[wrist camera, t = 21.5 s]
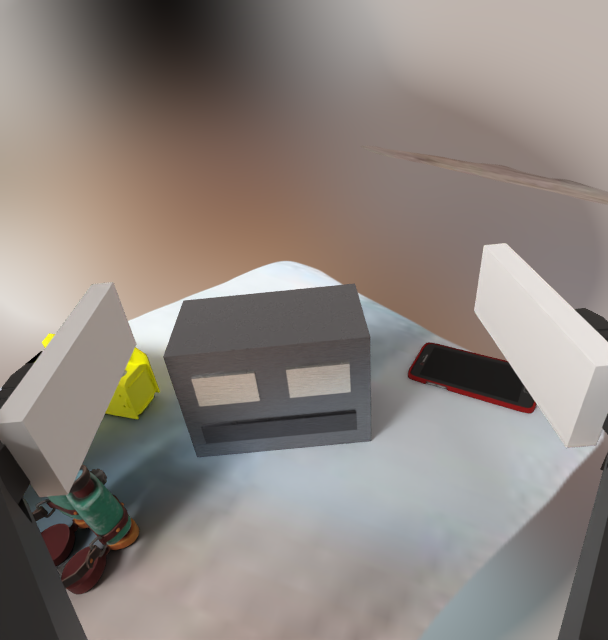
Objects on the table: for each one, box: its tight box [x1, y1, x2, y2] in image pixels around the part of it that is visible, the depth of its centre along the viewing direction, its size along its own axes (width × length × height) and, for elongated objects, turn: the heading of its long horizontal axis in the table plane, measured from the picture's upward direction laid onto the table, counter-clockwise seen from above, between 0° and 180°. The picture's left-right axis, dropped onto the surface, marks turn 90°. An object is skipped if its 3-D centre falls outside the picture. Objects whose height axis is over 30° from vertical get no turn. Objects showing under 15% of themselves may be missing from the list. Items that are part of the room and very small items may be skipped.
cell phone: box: [408, 343, 536, 413], centre depth 55 cm, size 8×15×1 cm, turn 59°
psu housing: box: [163, 284, 371, 457], centre depth 48 cm, size 19×10×14 cm, turn 92°
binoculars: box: [32, 465, 139, 594], centre depth 38 cm, size 9×11×10 cm
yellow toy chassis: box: [26, 334, 160, 419], centre depth 56 cm, size 16×6×8 cm, turn 73°
